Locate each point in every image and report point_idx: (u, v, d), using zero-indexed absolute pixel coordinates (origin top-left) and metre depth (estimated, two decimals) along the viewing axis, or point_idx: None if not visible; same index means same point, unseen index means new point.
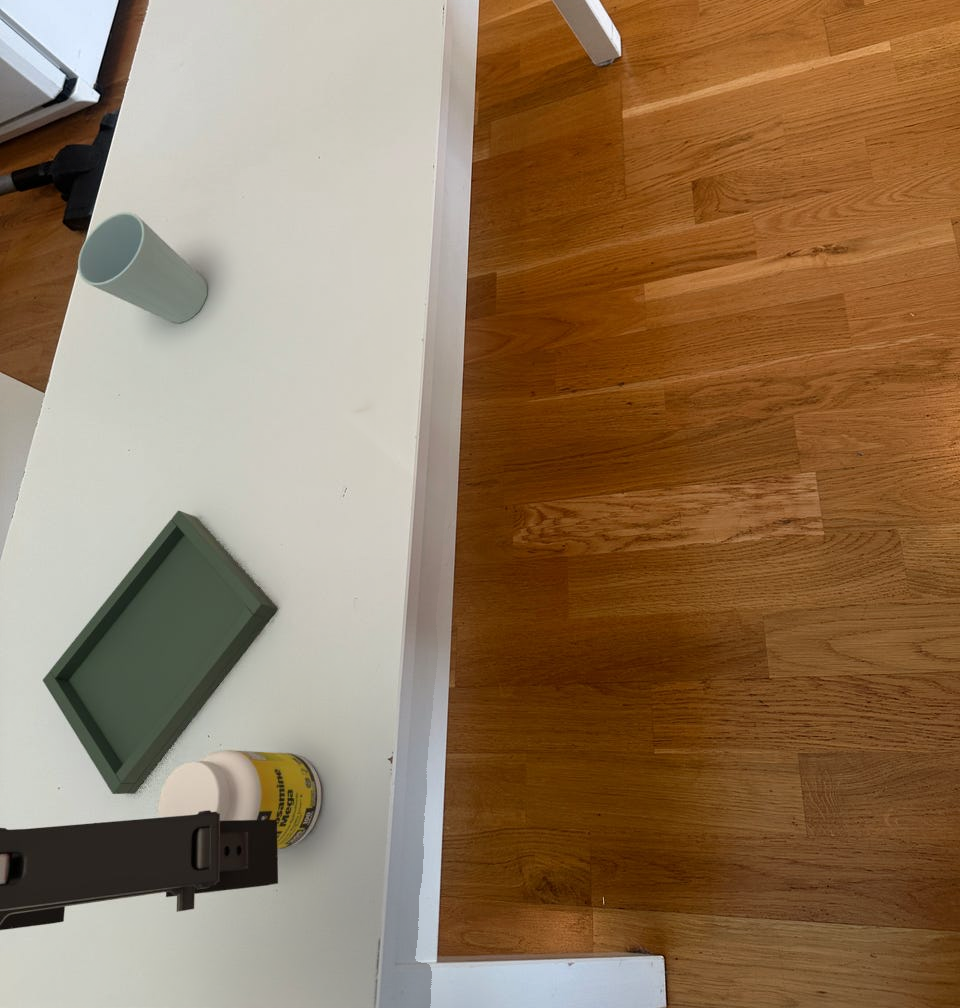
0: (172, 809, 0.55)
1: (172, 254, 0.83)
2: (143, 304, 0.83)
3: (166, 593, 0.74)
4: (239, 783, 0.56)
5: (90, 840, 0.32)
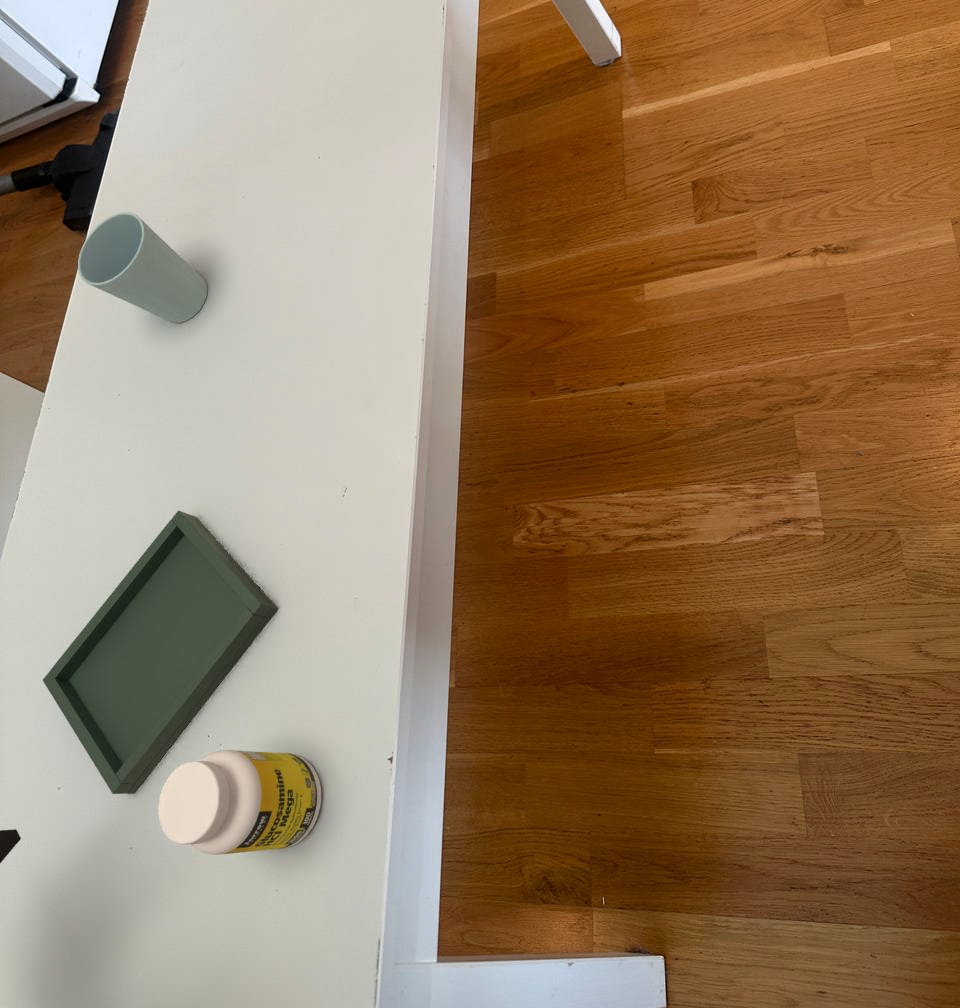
0: (172, 809, 0.55)
1: (172, 254, 0.83)
2: (143, 304, 0.83)
3: (166, 593, 0.74)
4: (239, 783, 0.56)
5: None
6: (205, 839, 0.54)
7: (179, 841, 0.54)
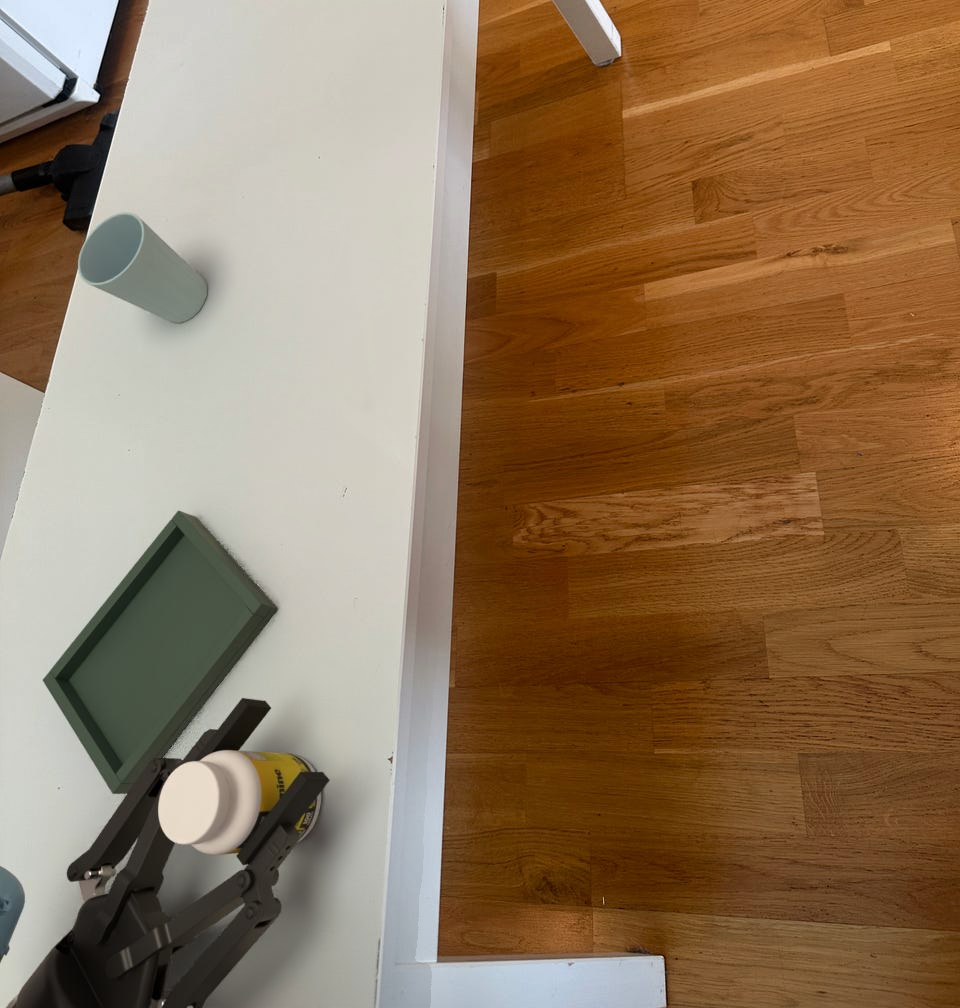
0: (172, 809, 0.55)
1: (172, 254, 0.83)
2: (143, 304, 0.83)
3: (166, 593, 0.74)
4: (240, 784, 0.56)
5: None
6: (205, 839, 0.54)
7: (179, 841, 0.54)
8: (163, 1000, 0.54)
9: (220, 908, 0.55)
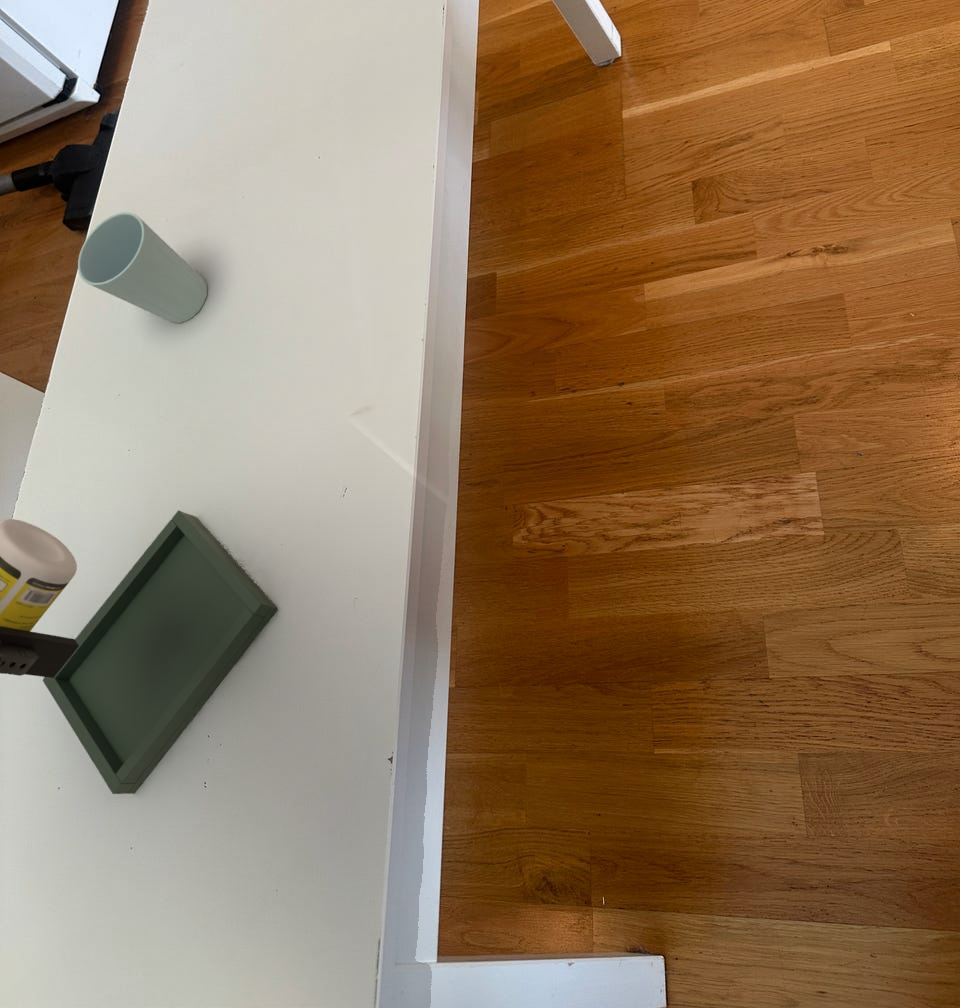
0: None
1: (172, 254, 0.83)
2: (143, 304, 0.83)
3: (166, 593, 0.74)
4: None
5: None
6: None
7: None
8: None
9: None
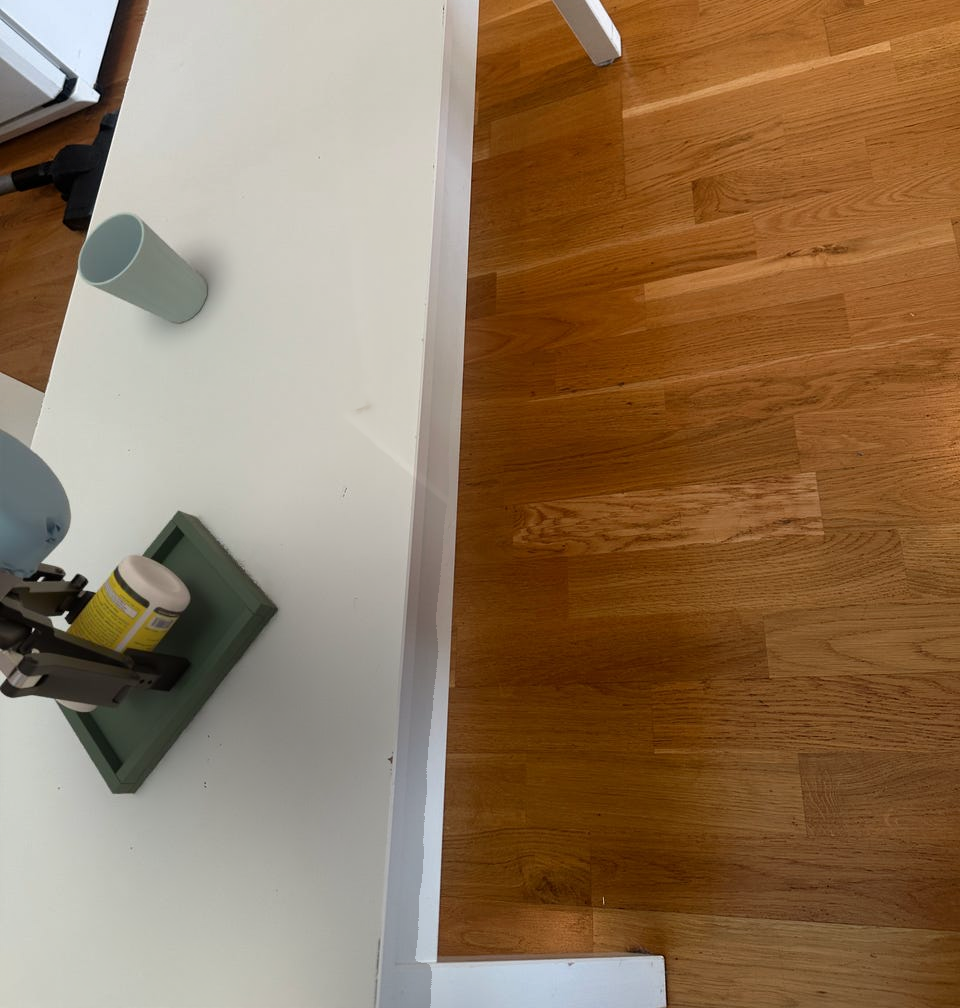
0: None
1: (172, 254, 0.83)
2: (143, 304, 0.83)
3: None
4: None
5: (79, 677, 0.58)
6: None
7: None
8: None
9: None
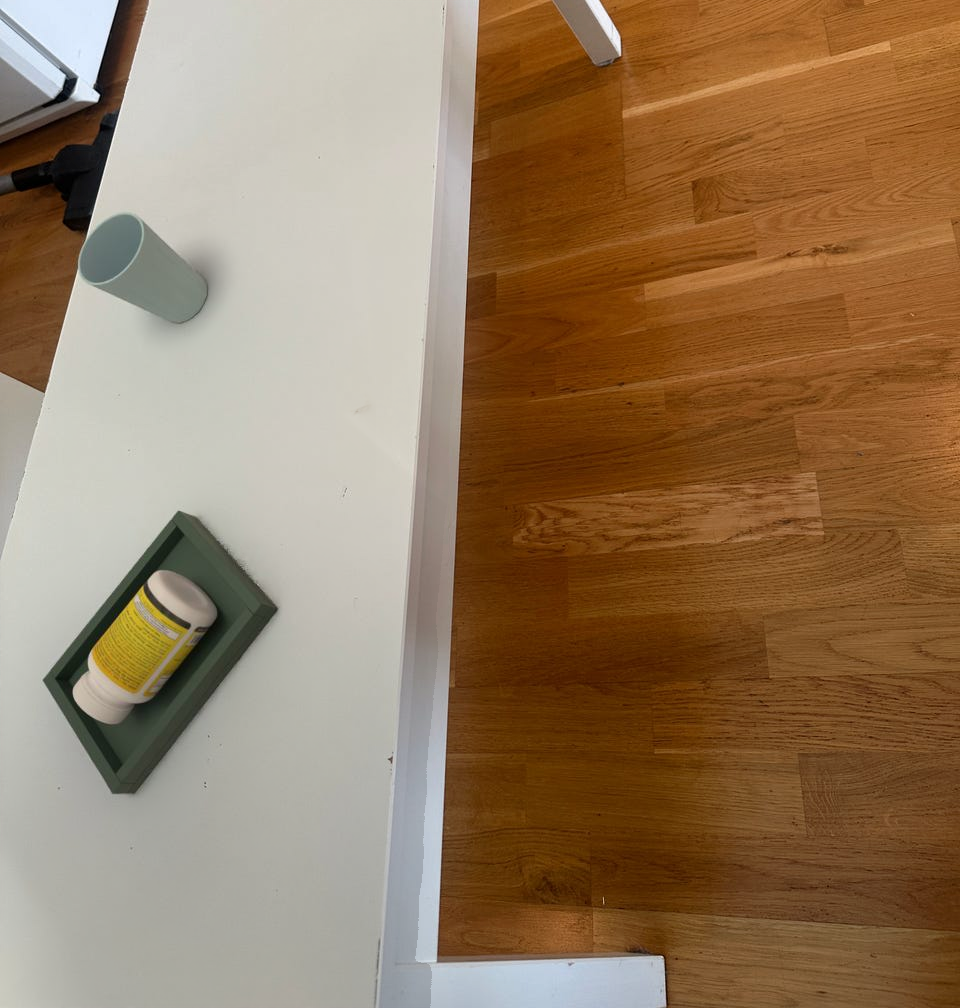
0: None
1: (172, 254, 0.83)
2: (143, 304, 0.83)
3: None
4: None
5: None
6: (80, 678, 0.69)
7: (74, 697, 0.67)
8: None
9: None
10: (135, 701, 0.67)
